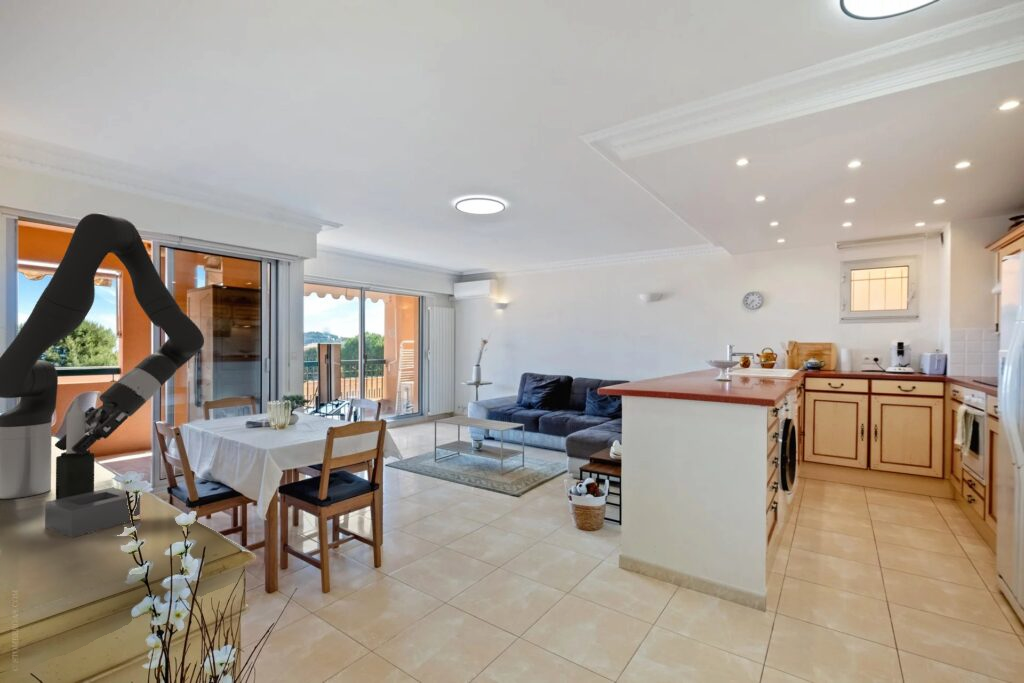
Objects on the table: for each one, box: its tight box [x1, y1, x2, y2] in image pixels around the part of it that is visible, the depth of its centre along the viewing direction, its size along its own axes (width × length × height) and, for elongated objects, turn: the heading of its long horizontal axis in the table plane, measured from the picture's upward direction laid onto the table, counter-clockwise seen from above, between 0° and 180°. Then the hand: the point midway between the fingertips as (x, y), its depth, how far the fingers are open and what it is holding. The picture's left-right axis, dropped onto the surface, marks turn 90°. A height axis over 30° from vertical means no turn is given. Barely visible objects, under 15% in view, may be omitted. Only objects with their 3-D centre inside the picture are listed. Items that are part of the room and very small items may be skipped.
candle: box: [55, 398, 95, 500], centre depth 101 cm, size 5×5×25 cm
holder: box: [44, 487, 141, 538], centre depth 95 cm, size 12×11×5 cm
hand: (67, 450), depth 99 cm, fingers open, 8 cm apart
